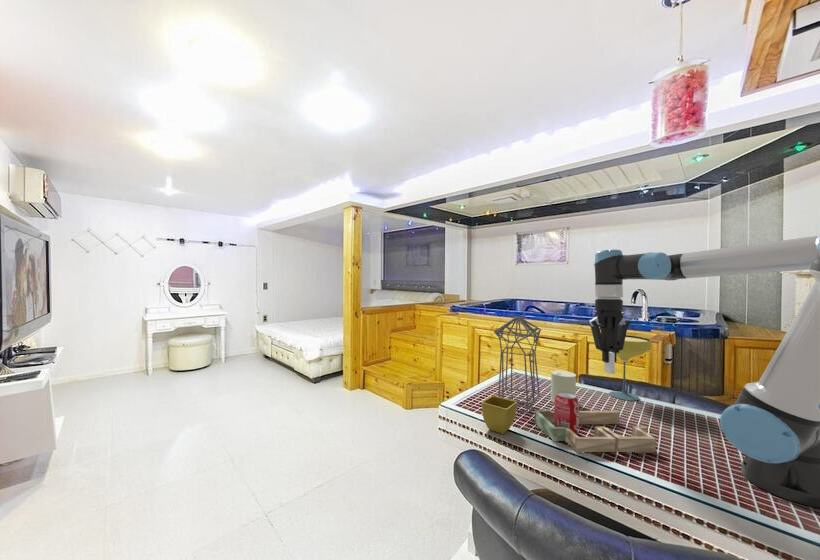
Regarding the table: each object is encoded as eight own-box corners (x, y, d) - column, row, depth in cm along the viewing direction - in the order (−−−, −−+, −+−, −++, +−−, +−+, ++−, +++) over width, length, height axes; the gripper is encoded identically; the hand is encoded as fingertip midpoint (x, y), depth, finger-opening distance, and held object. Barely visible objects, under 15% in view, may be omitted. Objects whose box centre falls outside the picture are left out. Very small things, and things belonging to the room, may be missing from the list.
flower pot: (492, 420, 109) (492, 394, 109) (517, 428, 103) (517, 401, 103) (480, 430, 102) (480, 402, 102) (506, 438, 96) (507, 409, 96)
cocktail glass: (615, 403, 126) (616, 341, 126) (591, 388, 144) (591, 333, 144) (661, 405, 125) (662, 342, 125) (631, 389, 143) (632, 334, 143)
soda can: (573, 427, 104) (574, 391, 104) (582, 438, 97) (582, 399, 97) (551, 425, 105) (552, 390, 105) (558, 436, 98) (558, 397, 98)
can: (545, 399, 129) (545, 370, 129) (561, 396, 133) (561, 368, 133) (565, 408, 121) (565, 376, 121) (581, 404, 125) (581, 374, 125)
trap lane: (664, 452, 90) (664, 436, 90) (564, 453, 88) (564, 437, 88) (617, 422, 109) (617, 409, 109) (534, 422, 107) (534, 409, 107)
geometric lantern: (537, 419, 110) (535, 319, 110) (492, 410, 118) (491, 317, 119) (544, 404, 124) (542, 315, 124) (503, 397, 132) (502, 313, 132)
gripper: (619, 298, 105) (620, 369, 104) (581, 298, 104) (582, 369, 103) (637, 298, 97) (638, 375, 97) (597, 298, 97) (597, 376, 96)
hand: (609, 372), depth 100 cm, fingers closed
